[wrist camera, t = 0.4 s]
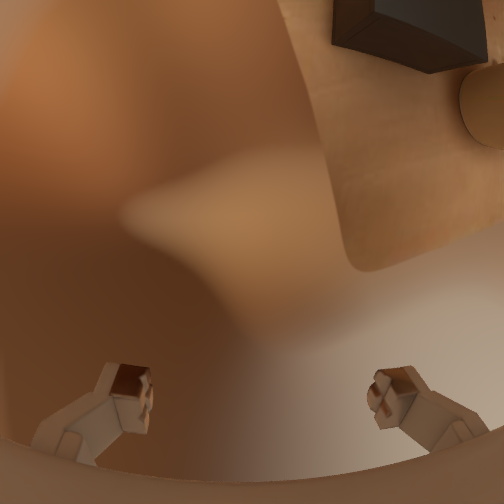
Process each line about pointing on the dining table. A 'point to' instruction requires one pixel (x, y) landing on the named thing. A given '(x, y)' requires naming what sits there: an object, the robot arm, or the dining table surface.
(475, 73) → the coffee cup
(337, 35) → the cabinet
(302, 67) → the dining table surface
